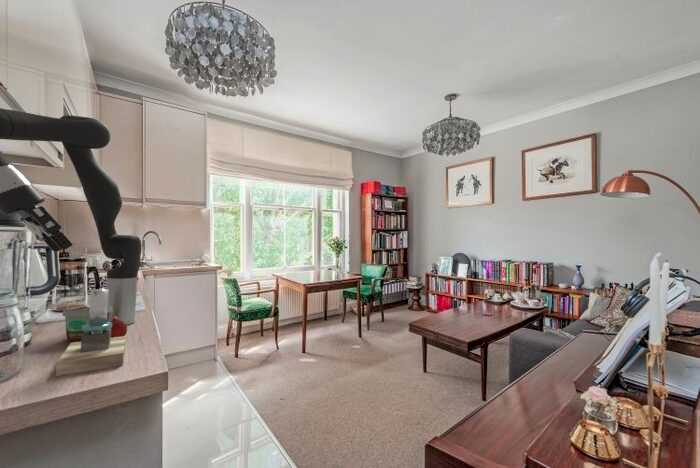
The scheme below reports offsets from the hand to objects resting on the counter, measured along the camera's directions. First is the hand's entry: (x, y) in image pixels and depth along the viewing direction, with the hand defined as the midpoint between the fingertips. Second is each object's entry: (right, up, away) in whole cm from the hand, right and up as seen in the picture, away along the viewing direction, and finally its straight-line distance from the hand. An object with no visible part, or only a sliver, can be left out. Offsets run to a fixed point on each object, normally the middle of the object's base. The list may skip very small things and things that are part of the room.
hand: (63, 249), depth 72 cm
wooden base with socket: (+4, -29, +4) cm, 30 cm away
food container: (-12, -30, +18) cm, 37 cm away
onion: (-1, -30, +16) cm, 34 cm away
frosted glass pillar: (+4, -26, +4) cm, 27 cm away
